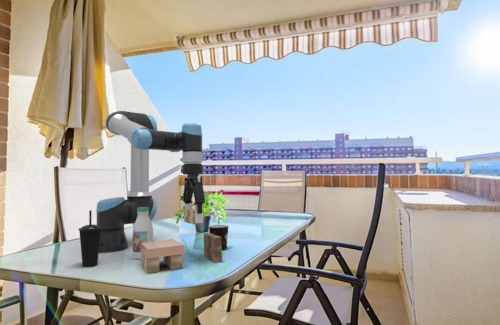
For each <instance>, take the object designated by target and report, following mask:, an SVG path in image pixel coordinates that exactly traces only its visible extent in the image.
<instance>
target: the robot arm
mask: <svg viewBox="0 0 500 325" xmlns="http://www.w3.org/2000/svg"><path fill="white" fill-rule="evenodd" d="M105 127H106V129H107V130H108V132H110V133H111V134H113V135H115V136H121V137H123V138H125V139H126V140H127V141H128V142H129V144H130V189H129V190H130V192H129V193H128V194H127V195H126V199H125V197H124V196H117V197H111V198H105V199H100V200H99V201H98V202H97V203H96V225H98V226H100V227H102V229H101V234H100V244H99V254H100V253H114V252H121V251H124V250H127V249H128V248H129V241H128V238H127V235H126V232H125V225H130V224H135V222H136V219H137V216H138V213H137V208H138V207H149V213H148V214H149V218H150V220H151V221H152V220H154V218H155V216H156V214H157V207H158V206H157V205H158V204H157V201H156V199H155V198H153V194H152V193H150V150H152V151H153V150H154V151H155V150H156V151H168V152H170V153H179V152H181V155H182V156H181V157H182V158H181V159H182V161H181V162H182V174H184V175H187V176H186V177H184V179H183V180H184V184H183V186H184V187H183V195H182V202H183V203H184V210H185V209H193V205H194V209H195V223H203V210H204V209H203V205H204V203H206V199H205V191H204V186H203V176H199V175H200V174H201V175H202V174H203V171H204V170H203V168H204V167H203V164H202V163H203V158H204V155H203V133H202V131H203V130H202V125H201V124H199V123H195V122H186V123H183V124H182V126H181V131H179V132H174V131H164V130H158V125H157V120H156V119H155V117H154V116H153V115H152V114H146V113H142V112H141V113H140V112H135V111H134V112H131V111H126V110H116V111H113V112H111V113H110V114H108V116H107V117H106V120H105ZM193 198H194V201H195V202H193V200H192V199H193Z"/></svg>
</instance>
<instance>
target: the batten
mask: <svg viewBox="0 0 500 325" xmlns="http://www.w3.org/2000/svg"><path fill="white" fill-rule="evenodd" d="M204 213H205V212H204V209H203V223H195V208H192V209H185V208H184V209H183V222H184V223H187V224H191V225H202V224H203V225H204V224H205V214H204Z"/></svg>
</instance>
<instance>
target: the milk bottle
mask: <svg viewBox="0 0 500 325" xmlns="http://www.w3.org/2000/svg"><path fill="white" fill-rule="evenodd" d="M137 213H138V216H137V219H136V222H135V223H133V224H134V225H133V226H132V227H133V228H132V258H133V259H134V260H141V251H140V243H141V242H151V241H154V228H153V222H152V220H150V218H149V214H148V213H149V207H138V208H137Z"/></svg>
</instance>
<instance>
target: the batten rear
mask: <svg viewBox="0 0 500 325" xmlns="http://www.w3.org/2000/svg"><path fill="white" fill-rule="evenodd" d="M140 266H141V269H143V270H144V272H145V273H146V274H152V273H158V272H160V257H157V258H149V259H147V257H146V256H145V255H144V254H143V253H142V252H141V259H140Z"/></svg>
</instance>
